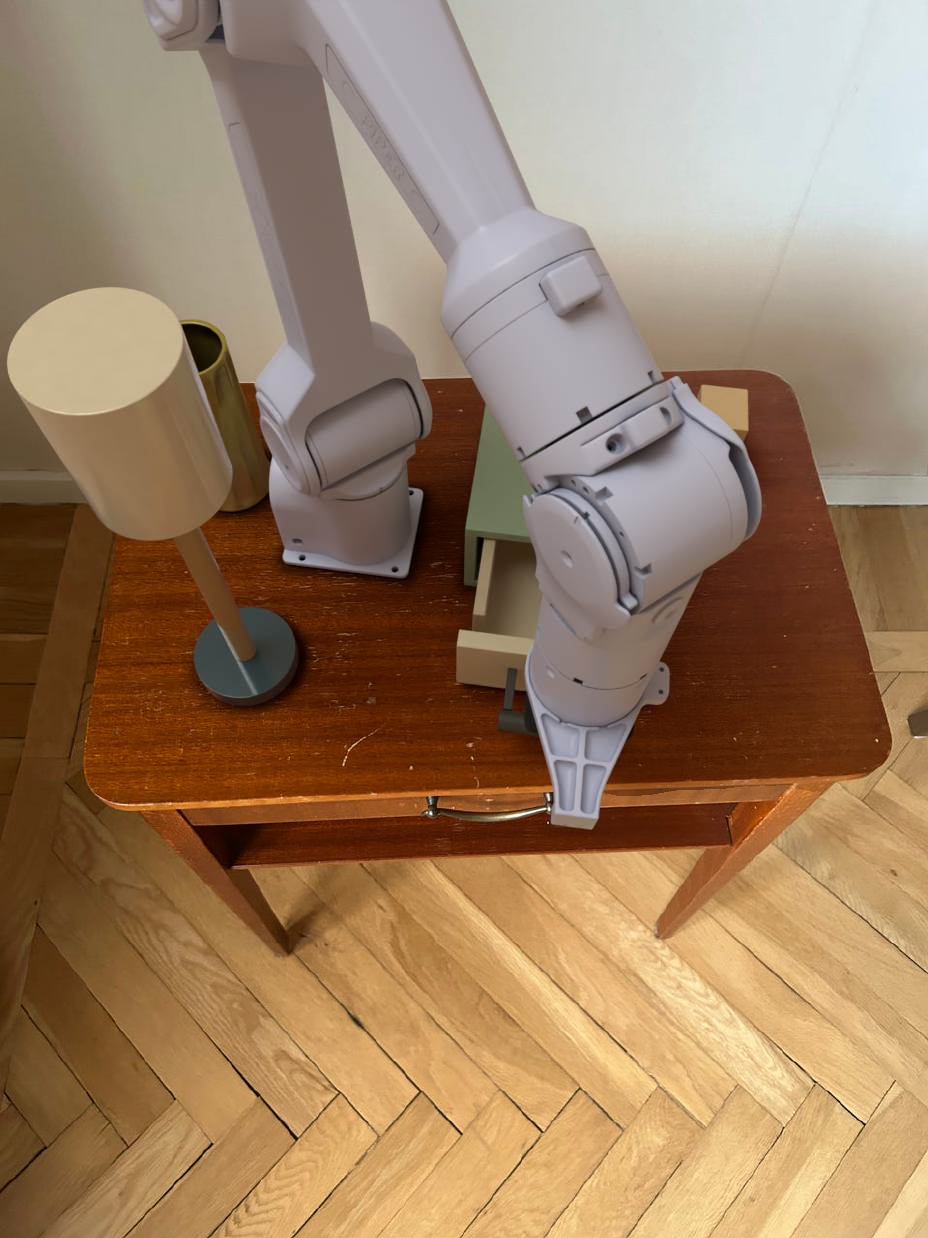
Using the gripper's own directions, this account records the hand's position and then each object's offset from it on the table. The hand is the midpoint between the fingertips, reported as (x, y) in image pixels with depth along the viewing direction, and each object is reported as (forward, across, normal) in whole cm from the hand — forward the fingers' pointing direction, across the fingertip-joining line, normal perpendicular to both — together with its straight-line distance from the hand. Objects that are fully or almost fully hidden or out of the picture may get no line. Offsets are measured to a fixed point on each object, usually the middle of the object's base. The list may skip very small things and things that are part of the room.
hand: (566, 736), depth 51 cm
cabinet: (+8, +21, +1) cm, 23 cm away
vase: (+8, +21, +27) cm, 35 cm away
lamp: (+8, +6, +22) cm, 24 cm away
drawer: (+7, +10, +1) cm, 12 cm away
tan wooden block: (+8, +28, -10) cm, 31 cm away
